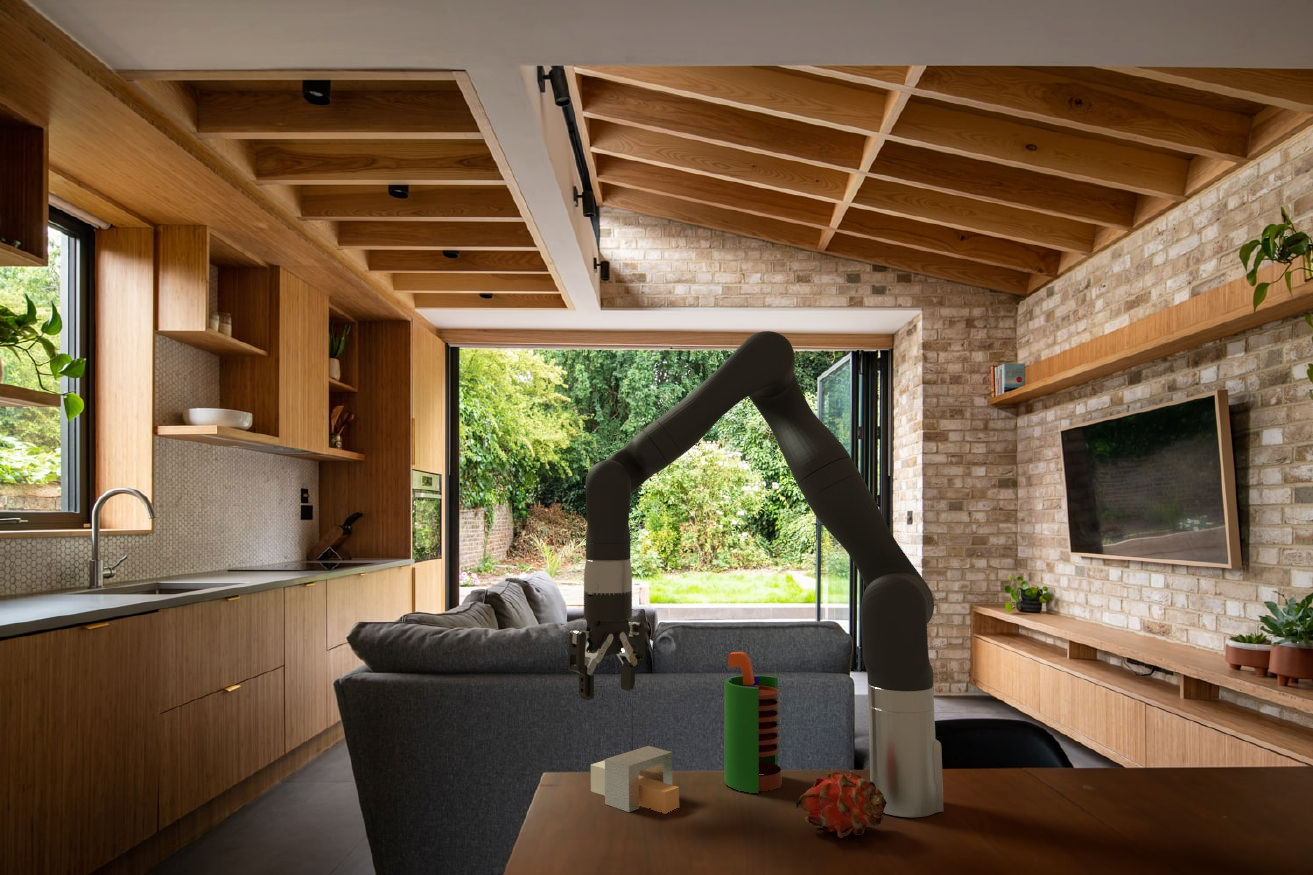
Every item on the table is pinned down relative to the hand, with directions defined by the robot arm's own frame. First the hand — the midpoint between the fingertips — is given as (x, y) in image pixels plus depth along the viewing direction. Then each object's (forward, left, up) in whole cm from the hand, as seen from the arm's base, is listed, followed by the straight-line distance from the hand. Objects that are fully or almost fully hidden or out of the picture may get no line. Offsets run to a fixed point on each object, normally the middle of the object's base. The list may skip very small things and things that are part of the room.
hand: (607, 694), depth 132 cm
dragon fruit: (-30, +21, -15) cm, 39 cm away
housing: (-4, +5, -14) cm, 16 cm away
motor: (-23, 0, -15) cm, 27 cm away
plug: (-4, +4, -14) cm, 16 cm away
